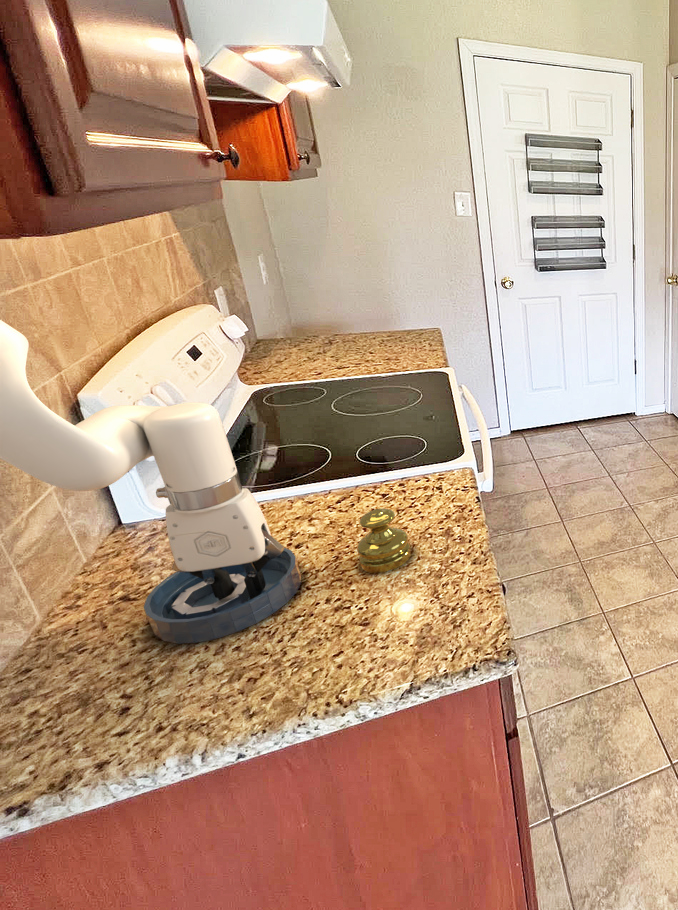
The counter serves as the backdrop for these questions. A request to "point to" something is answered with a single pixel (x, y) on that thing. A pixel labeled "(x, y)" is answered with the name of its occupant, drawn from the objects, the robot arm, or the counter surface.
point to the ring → (187, 599)
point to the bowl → (277, 592)
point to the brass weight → (382, 543)
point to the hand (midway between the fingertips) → (242, 595)
